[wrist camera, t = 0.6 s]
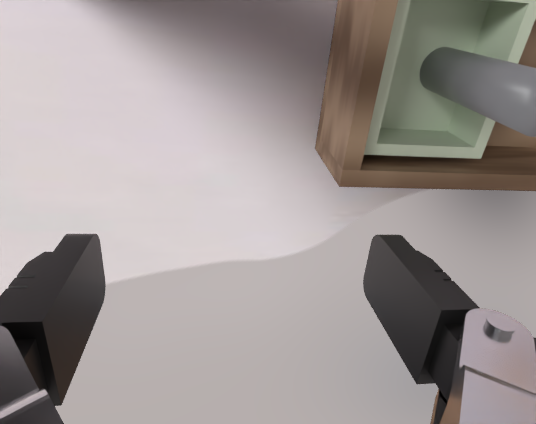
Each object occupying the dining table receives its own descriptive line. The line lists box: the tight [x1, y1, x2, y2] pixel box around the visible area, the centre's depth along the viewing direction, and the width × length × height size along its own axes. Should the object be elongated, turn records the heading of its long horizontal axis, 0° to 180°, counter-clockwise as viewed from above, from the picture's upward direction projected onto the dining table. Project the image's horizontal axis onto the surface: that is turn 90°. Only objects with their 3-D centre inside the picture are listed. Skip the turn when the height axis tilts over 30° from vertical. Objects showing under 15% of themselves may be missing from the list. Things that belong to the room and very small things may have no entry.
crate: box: [364, 0, 536, 159], centre depth 23 cm, size 10×9×11 cm
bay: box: [315, 0, 536, 191], centre depth 26 cm, size 14×24×7 cm, turn 85°
